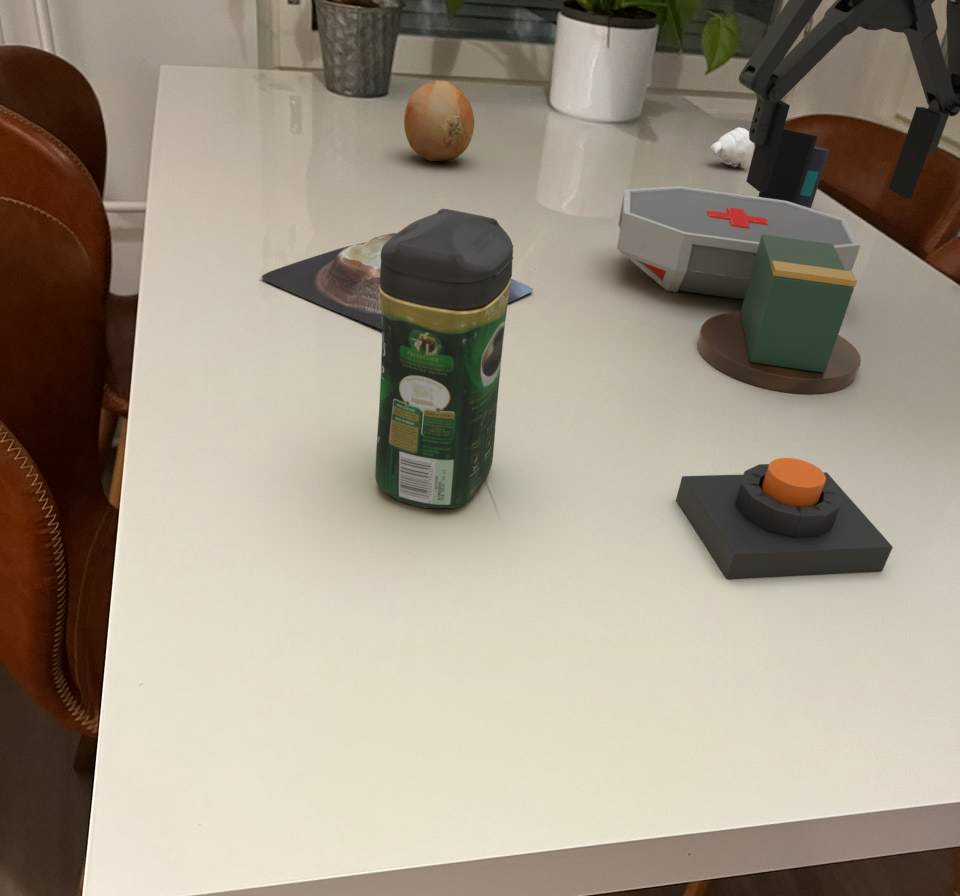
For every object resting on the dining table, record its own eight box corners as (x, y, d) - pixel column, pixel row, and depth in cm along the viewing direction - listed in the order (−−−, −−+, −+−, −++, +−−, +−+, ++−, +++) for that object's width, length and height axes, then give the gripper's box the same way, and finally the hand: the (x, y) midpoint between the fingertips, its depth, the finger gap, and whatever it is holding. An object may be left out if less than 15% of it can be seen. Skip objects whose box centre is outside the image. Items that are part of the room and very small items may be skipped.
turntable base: (811, 325, 105) (815, 312, 104) (885, 393, 93) (891, 378, 92) (674, 324, 101) (678, 310, 100) (734, 394, 90) (738, 379, 89)
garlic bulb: (699, 161, 153) (707, 123, 149) (730, 161, 155) (739, 123, 152) (718, 172, 149) (727, 133, 146) (750, 171, 151) (760, 132, 148)
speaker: (789, 221, 132) (813, 136, 126) (752, 211, 135) (775, 127, 129) (816, 219, 137) (841, 136, 131) (781, 209, 140) (804, 128, 134)
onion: (430, 174, 134) (435, 92, 128) (388, 154, 140) (391, 74, 133) (485, 167, 139) (492, 88, 133) (442, 148, 145) (447, 71, 138)
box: (738, 313, 101) (762, 227, 95) (808, 323, 101) (836, 237, 95) (749, 362, 92) (775, 270, 86) (826, 373, 91) (857, 281, 86)
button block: (817, 496, 77) (834, 451, 75) (882, 572, 70) (902, 525, 67) (675, 500, 75) (687, 454, 72) (726, 580, 67) (741, 531, 65)
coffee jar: (406, 438, 78) (419, 191, 66) (501, 462, 76) (532, 214, 65) (357, 497, 71) (361, 232, 59) (461, 524, 69) (487, 258, 57)
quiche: (536, 293, 104) (541, 254, 102) (411, 345, 91) (413, 303, 89) (388, 238, 113) (389, 201, 110) (255, 279, 100) (253, 239, 97)
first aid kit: (609, 297, 105) (843, 330, 104) (623, 225, 100) (867, 259, 100) (613, 244, 119) (819, 273, 118) (624, 178, 114) (840, 208, 113)
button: (802, 477, 72) (810, 456, 71) (828, 507, 69) (836, 486, 68) (752, 479, 71) (759, 457, 70) (776, 509, 68) (783, 487, 67)
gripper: (787, -137, 66) (709, 197, 79) (1105, -99, 71) (980, 209, 84) (744, -143, 71) (678, 170, 85) (1041, -108, 76) (934, 183, 90)
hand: (829, 190), depth 85 cm, fingers open, 13 cm apart
